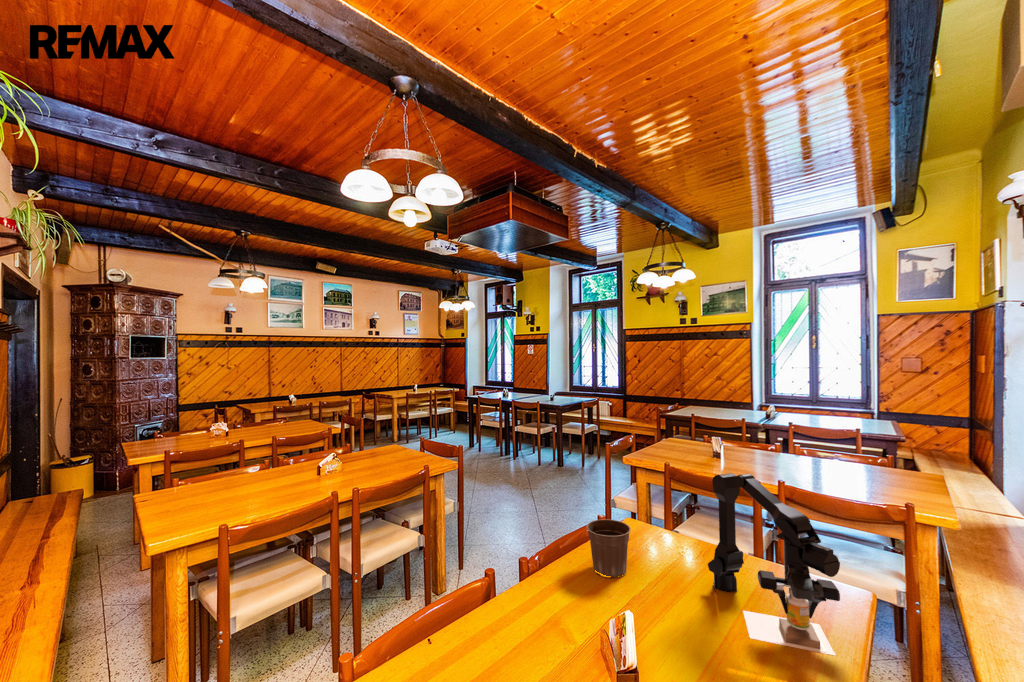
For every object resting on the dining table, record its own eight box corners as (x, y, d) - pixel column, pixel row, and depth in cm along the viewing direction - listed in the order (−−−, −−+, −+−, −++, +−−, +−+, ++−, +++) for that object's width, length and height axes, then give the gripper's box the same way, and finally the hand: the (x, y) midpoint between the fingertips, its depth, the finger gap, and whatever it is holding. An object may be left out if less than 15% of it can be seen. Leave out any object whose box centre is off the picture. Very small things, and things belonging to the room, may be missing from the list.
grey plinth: (785, 642, 117) (785, 634, 117) (779, 625, 124) (779, 618, 125) (820, 649, 114) (820, 641, 114) (811, 631, 122) (811, 624, 122)
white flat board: (749, 641, 119) (749, 637, 119) (742, 612, 132) (742, 610, 132) (836, 658, 112) (835, 655, 112) (819, 627, 125) (819, 623, 125)
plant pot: (580, 574, 157) (579, 530, 157) (596, 556, 170) (595, 516, 171) (624, 586, 148) (622, 539, 149) (636, 566, 162) (635, 523, 162)
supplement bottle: (782, 619, 122) (781, 584, 122) (799, 618, 122) (798, 583, 123) (796, 631, 117) (795, 595, 117) (814, 630, 117) (813, 594, 117)
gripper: (763, 566, 116) (765, 625, 116) (846, 579, 109) (848, 641, 109) (756, 549, 126) (758, 602, 126) (831, 559, 120) (834, 616, 119)
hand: (797, 615), depth 120 cm, fingers closed on supplement bottle, 5 cm apart
